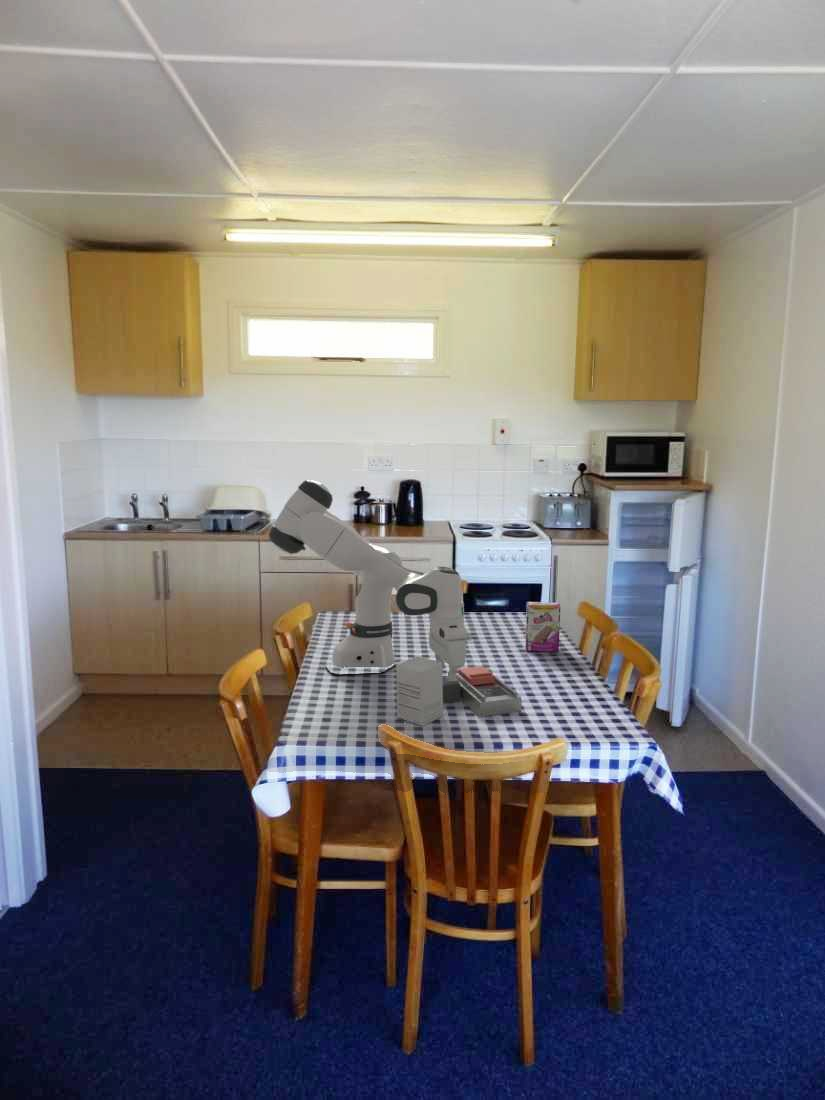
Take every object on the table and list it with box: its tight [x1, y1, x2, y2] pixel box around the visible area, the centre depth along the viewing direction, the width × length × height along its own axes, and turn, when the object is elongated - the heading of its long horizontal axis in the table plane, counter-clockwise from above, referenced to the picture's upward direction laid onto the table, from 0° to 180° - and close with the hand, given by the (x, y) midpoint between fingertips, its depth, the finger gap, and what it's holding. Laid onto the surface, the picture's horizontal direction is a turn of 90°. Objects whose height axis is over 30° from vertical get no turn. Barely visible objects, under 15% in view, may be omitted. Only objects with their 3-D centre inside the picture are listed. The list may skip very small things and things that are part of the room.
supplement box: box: [395, 656, 444, 727], centre depth 198 cm, size 9×9×15 cm
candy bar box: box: [524, 601, 561, 653], centre depth 255 cm, size 11×5×16 cm, turn 84°
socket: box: [456, 672, 522, 718], centre depth 211 cm, size 12×21×5 cm, turn 18°
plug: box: [443, 675, 462, 704], centre depth 212 cm, size 6×5×6 cm
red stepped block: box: [458, 665, 496, 685], centre depth 216 cm, size 8×9×3 cm
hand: (446, 673), depth 211 cm, fingers open, 8 cm apart
